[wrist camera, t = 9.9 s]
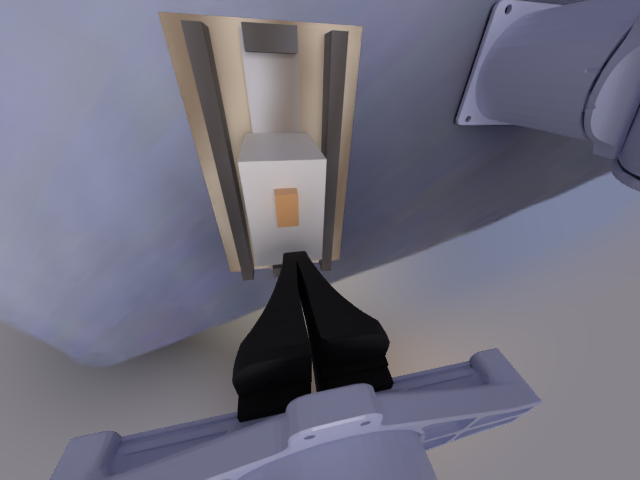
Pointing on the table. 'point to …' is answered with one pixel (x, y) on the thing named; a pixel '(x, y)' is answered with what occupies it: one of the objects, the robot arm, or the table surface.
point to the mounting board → (265, 108)
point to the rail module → (283, 194)
